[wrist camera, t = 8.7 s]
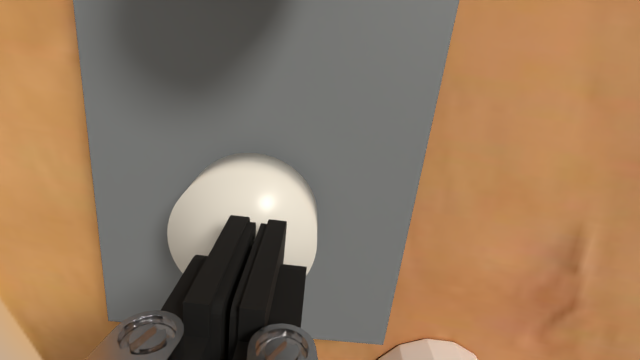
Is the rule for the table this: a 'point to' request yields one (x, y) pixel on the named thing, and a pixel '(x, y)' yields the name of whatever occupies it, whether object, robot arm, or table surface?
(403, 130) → the knob mount
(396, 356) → the white cup
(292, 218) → the white knob
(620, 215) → the table surface
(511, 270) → the table surface
